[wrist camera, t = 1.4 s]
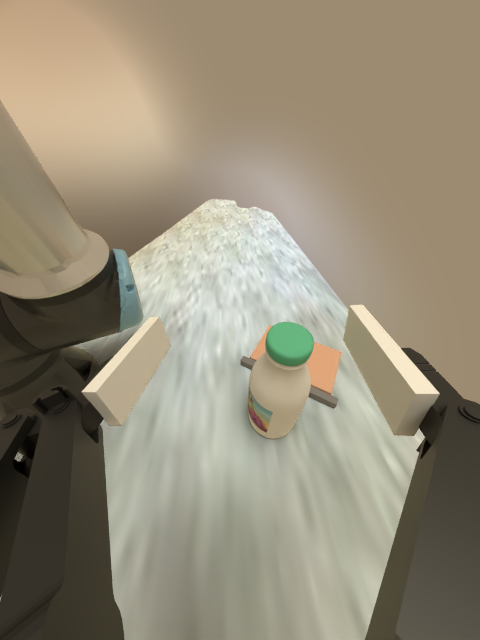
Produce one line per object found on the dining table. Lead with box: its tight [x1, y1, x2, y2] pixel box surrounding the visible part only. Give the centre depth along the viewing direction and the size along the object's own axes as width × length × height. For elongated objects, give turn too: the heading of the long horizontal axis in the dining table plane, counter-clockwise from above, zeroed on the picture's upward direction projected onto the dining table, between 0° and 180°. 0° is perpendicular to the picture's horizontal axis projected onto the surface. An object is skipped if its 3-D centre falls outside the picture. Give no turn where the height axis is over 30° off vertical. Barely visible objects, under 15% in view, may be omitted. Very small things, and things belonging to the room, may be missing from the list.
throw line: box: [241, 356, 338, 408], centre depth 37 cm, size 18×1×2 cm, turn 61°
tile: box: [250, 325, 341, 395], centre depth 41 cm, size 16×10×1 cm, turn 61°
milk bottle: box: [248, 322, 314, 439], centre depth 26 cm, size 8×8×20 cm
